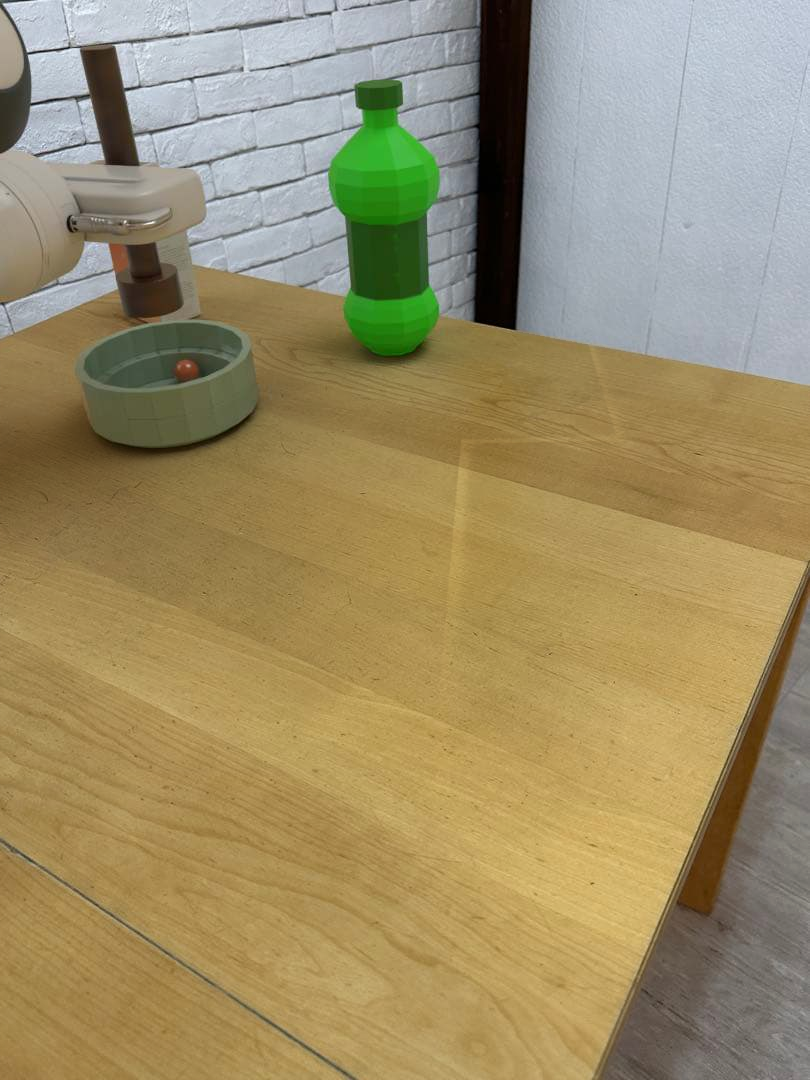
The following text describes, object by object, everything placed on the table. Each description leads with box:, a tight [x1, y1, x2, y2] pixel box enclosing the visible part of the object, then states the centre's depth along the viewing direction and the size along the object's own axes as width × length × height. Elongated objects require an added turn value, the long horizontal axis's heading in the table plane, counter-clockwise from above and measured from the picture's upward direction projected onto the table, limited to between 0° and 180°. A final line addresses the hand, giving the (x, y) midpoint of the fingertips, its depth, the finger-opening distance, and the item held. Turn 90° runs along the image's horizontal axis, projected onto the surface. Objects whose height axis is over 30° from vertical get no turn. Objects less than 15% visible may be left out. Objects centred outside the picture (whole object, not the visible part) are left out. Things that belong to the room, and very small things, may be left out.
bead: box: [174, 359, 199, 383], centre depth 88 cm, size 2×2×2 cm
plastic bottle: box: [327, 78, 441, 357], centre depth 88 cm, size 10×10×25 cm
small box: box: [107, 229, 202, 324], centre depth 102 cm, size 8×6×10 cm
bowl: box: [74, 319, 260, 449], centre depth 84 cm, size 16×16×6 cm
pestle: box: [79, 44, 184, 319], centre depth 73 cm, size 5×5×20 cm
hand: (131, 171), depth 73 cm, fingers closed on pestle, 2 cm apart
